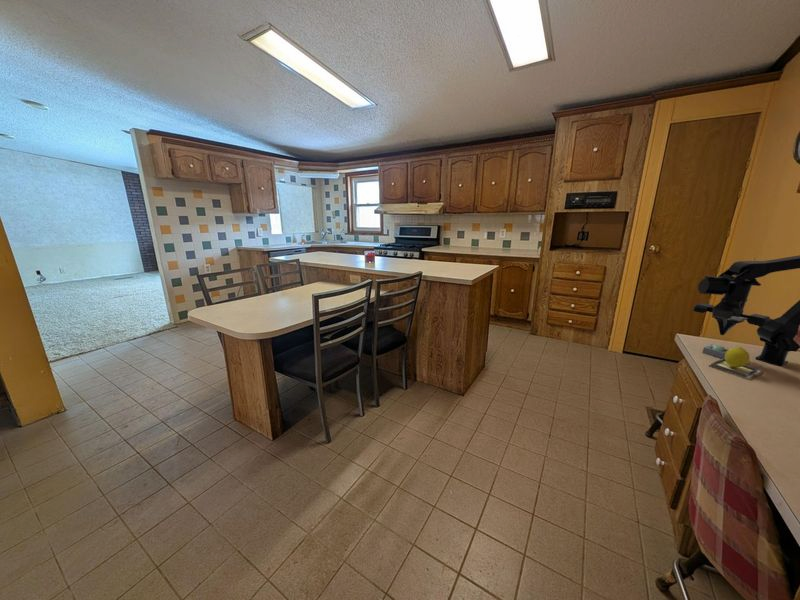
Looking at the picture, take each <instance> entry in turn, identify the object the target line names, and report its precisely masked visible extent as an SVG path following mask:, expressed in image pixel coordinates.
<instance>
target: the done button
mask: <svg viewBox="0 0 800 600" xmlns="http://www.w3.org/2000/svg"><path fill="white" fill-rule="evenodd" d="M712 345H713V348H712V349H715V350H718V351H721V352H723V351H724V348H725V347H724V346H722V345H717V344H712Z"/></svg>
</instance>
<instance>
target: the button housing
mask: <svg viewBox="0 0 800 600" xmlns="http://www.w3.org/2000/svg"><path fill="white" fill-rule="evenodd" d="M713 345H714V344H709V345H707V346H704V347H703V350H702V354H705V355H708V356H711V357H715V358H718V359H725V354H726V352H727V351H728V350H729V349H730V348H729V349H728V348H725V347H724V351H723V352H721V351H718V350H715V349H712V348H713Z"/></svg>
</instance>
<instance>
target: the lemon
mask: <svg viewBox="0 0 800 600" xmlns="http://www.w3.org/2000/svg"><path fill="white" fill-rule="evenodd" d="M749 360H750V354H749V352H748V351H747V350H746V349H744V348H743V347H741V346H738V347H731V348H729V350H728V351H727V352H726V354H725V361H726V363H727V364H729V365H730V366H731V367H732V368H736V367H743V366H745V365H746V366H747V364H748V363H749Z"/></svg>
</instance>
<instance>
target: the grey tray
mask: <svg viewBox="0 0 800 600" xmlns="http://www.w3.org/2000/svg"><path fill="white" fill-rule="evenodd" d="M708 367H710V368H713V369H716V370H719V371H721V372H724V373H726V374H731V375H733V376H736V377H739V378H742V379H745V380H748V381H750V380H752V379H753V378H756V377H757V376H759V375H762V374H763V373H764V371H762V370H759V369H758V368H755V367H752V366H749V365H747V364H746V365H745V366H743V367H736V368H732V367H731V366H730V365H729V364H727V363H726V361H725V359H721V358H719V359H718V360H716V361H714V362H711V364H709V365H708Z"/></svg>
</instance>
